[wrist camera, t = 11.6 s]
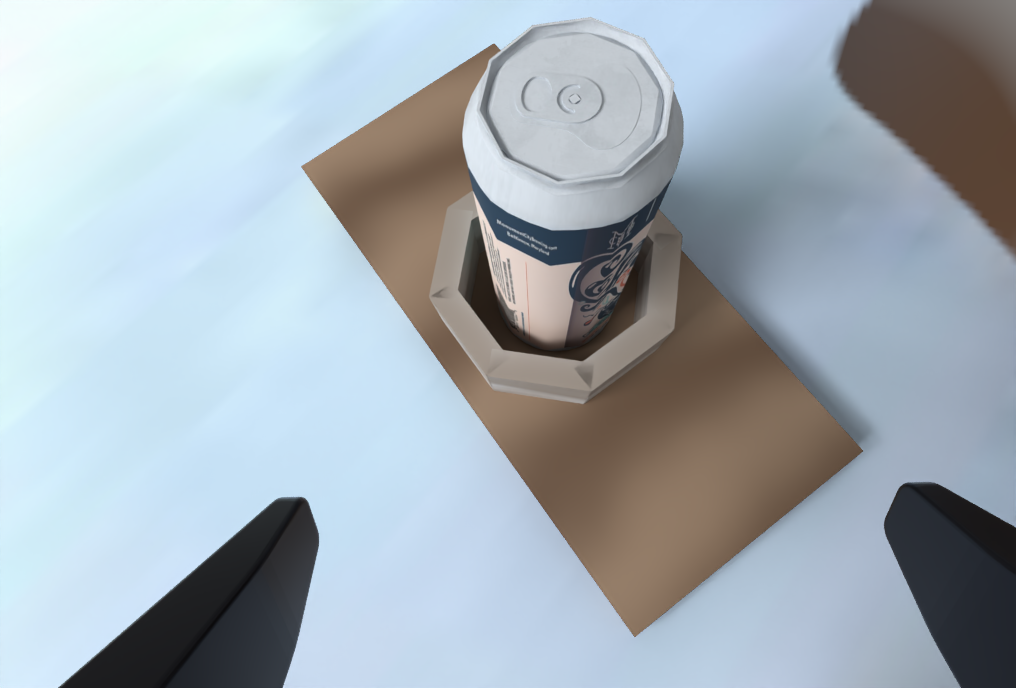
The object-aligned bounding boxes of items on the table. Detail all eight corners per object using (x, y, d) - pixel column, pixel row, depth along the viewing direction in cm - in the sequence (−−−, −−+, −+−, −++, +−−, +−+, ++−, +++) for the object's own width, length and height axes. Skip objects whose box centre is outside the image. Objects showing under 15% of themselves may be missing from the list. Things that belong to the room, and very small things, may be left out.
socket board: (848, 452, 21) (918, 445, 17) (629, 629, 20) (651, 664, 16) (495, 59, 27) (488, -13, 23) (310, 178, 25) (269, 124, 22)
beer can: (603, 364, 21) (681, 223, 10) (487, 343, 22) (431, 185, 10) (620, 255, 22) (709, 14, 11) (510, 238, 23) (483, -12, 11)
